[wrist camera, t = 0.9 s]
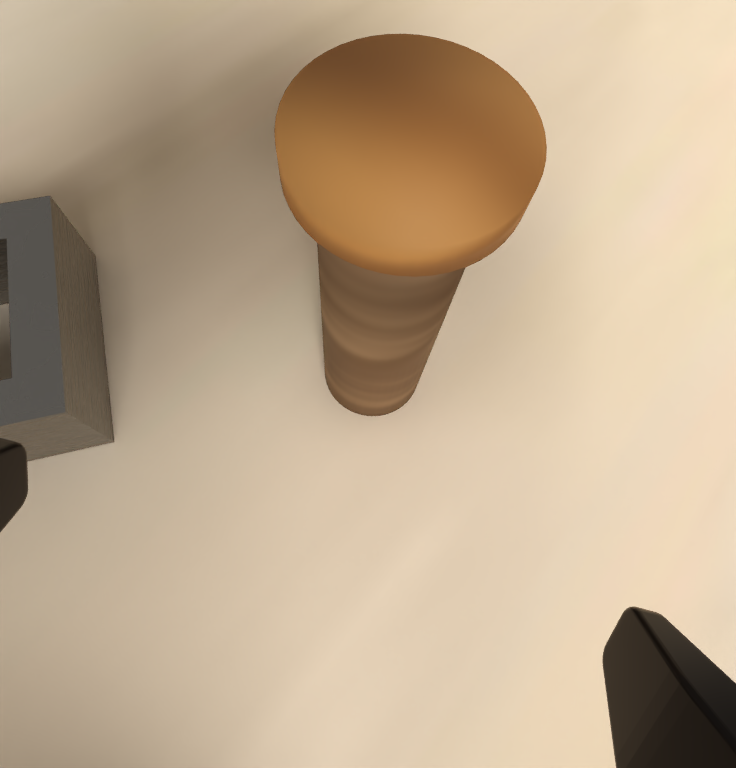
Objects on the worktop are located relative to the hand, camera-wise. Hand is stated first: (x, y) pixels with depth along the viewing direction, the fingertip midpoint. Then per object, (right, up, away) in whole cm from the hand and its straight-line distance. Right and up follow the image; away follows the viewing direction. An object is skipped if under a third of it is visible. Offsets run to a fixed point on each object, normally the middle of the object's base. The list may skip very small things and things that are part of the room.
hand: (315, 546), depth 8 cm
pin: (+1, +3, +15) cm, 15 cm away
